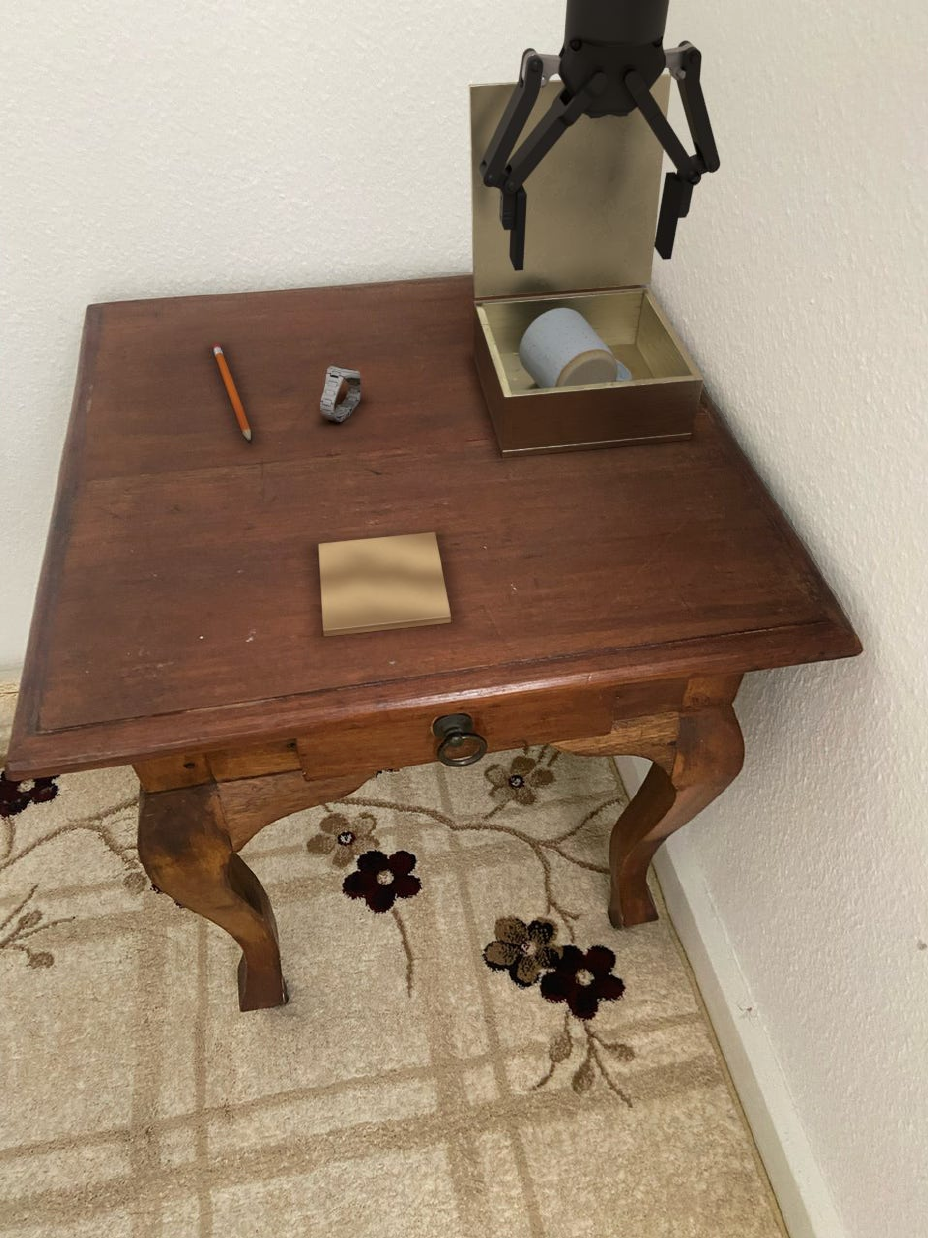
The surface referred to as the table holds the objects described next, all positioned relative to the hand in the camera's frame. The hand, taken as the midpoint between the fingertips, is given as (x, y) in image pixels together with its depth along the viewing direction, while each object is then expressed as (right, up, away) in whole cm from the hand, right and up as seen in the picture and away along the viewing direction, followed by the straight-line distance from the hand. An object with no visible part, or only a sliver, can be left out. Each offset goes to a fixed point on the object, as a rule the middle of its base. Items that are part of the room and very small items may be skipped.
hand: (589, 258), depth 79 cm
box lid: (-1, +9, +5) cm, 10 cm away
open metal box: (0, -10, +11) cm, 15 cm away
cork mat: (-18, -30, -7) cm, 36 cm away
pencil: (-35, -10, +12) cm, 38 cm away
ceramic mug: (0, -9, +10) cm, 14 cm away
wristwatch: (-24, -12, +9) cm, 28 cm away
